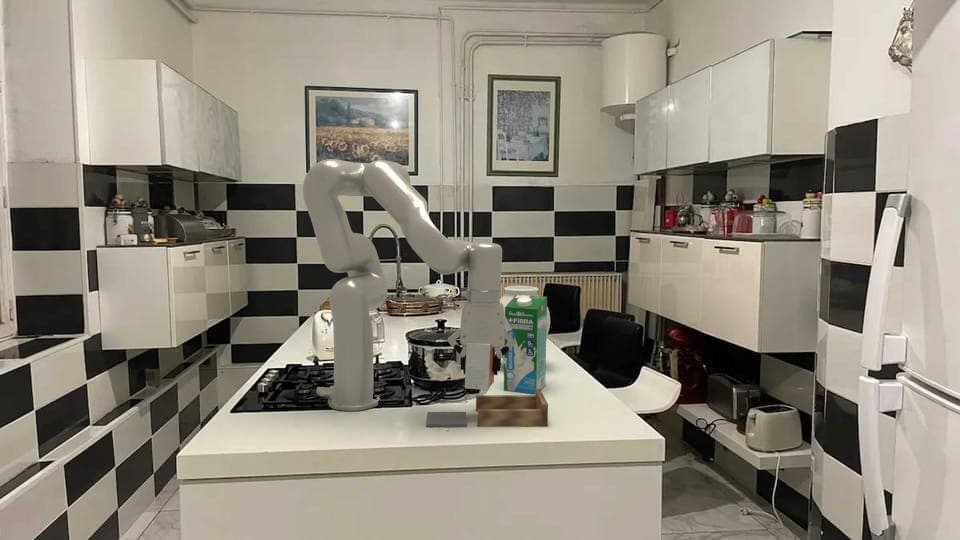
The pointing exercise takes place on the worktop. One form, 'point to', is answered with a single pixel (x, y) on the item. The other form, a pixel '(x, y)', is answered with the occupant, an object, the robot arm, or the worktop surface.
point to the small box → (479, 366)
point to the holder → (512, 410)
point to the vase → (521, 290)
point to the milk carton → (526, 344)
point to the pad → (446, 419)
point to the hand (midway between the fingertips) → (480, 372)
